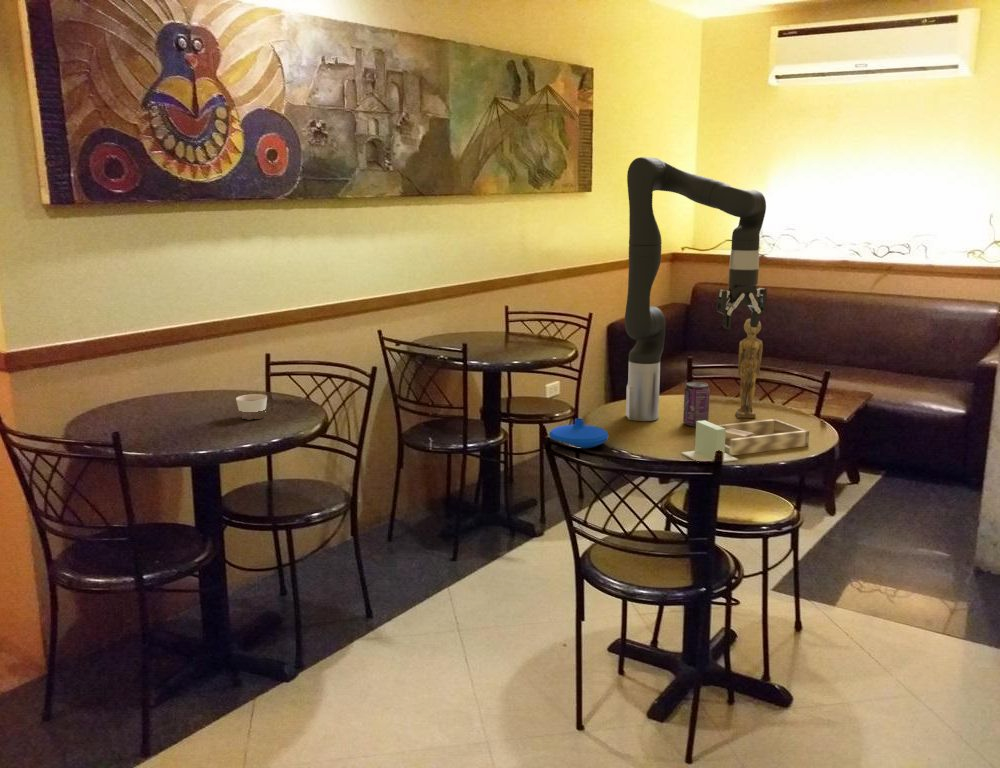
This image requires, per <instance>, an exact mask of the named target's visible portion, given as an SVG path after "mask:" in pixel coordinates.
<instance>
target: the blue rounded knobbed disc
mask: <svg viewBox="0 0 1000 768" xmlns="http://www.w3.org/2000/svg"><path fill="white" fill-rule="evenodd" d="M548 435H549V438H551V439H553V440H556V441H561V442H565V443H570V444H573V445H575V446H579V447H582V448H583V449H591V448H596V447H598V446H600V445H602V444H604V443H606V442H607V441H608V438H609V433H608V432H607V431H606V430H605V429H604V428H602V427H599V426H596V425H590V424H584V419H583V418H575V419H574V424H566V425H565V424H564V425H560V426H556V427H554V428H552V429H551V430H550V432H549V434H548ZM551 439H550V440H551Z"/></svg>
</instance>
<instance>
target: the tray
mask: <svg viewBox="0 0 1000 768" xmlns="http://www.w3.org/2000/svg"><path fill="white" fill-rule="evenodd" d="M717 425H718V426H720V427H722V428H725V429H726V430H728V429H731V428H733V429H737V430H742V431H746V432H751V433H754V436H752V437H743V438H735V439H730V446H728V445H725V453H726V454H728V455H731V456H738V455H746V454H747V455H748V454H753V453H754V454H755V453H761V452H770V451H771V452H772V451H778V450H784V449H785V450H786V449H792V448H794V449H795V448H801V447H809V443H810V442H809V441H810V430H807V429H804V428H802V427H799V426H796V425H794V424H791V423H787V422H785V421H782V420H780V419H777V418H771V419H761V420H753V421H752V420H751V421H744V422H736V423H735V422H734V423H733V422H732V423H726V424H725V423H723V424H717Z"/></svg>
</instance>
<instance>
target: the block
mask: <svg viewBox="0 0 1000 768" xmlns="http://www.w3.org/2000/svg"><path fill="white" fill-rule="evenodd" d="M718 425H719V424H715V423H712V422H710V421H709V420H708V421H705V420H703V421H696V427H695V440H694V441H695V443H694V451H695V452H697V453H699V454H702V455H704V456H706V457H708V458H710V459H712V460H713V459H714V456H715V452H716V451H718V450H720V451H722V452H723V460H724V453H726V452H725V434H726V429H725V428H722V427H720V426H718Z"/></svg>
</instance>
